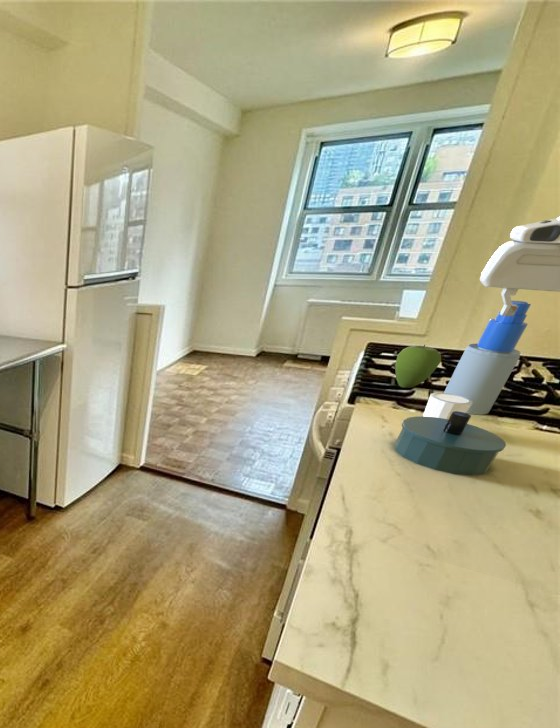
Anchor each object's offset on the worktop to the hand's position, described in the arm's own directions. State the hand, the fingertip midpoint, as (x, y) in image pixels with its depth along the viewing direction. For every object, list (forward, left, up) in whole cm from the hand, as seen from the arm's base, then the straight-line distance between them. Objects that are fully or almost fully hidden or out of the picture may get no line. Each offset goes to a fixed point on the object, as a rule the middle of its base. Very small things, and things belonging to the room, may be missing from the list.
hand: (544, 318), depth 83 cm
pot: (+5, +5, -27) cm, 28 cm away
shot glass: (+3, -14, -27) cm, 31 cm away
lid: (+5, +5, -22) cm, 23 cm away
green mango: (+6, -42, -27) cm, 50 cm away
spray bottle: (-4, -32, -27) cm, 42 cm away
